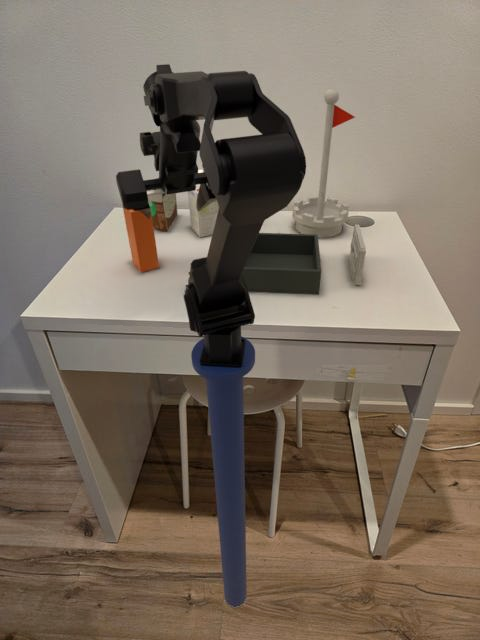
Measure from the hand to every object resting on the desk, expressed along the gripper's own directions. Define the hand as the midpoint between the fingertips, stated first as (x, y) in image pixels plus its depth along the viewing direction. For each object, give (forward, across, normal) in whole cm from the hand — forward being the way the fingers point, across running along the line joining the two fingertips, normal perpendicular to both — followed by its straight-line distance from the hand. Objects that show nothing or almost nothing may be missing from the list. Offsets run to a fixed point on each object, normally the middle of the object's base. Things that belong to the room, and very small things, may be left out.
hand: (173, 213), depth 80 cm
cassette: (+5, -33, +17) cm, 38 cm away
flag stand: (+16, -37, 0) cm, 40 cm away
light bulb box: (+22, -14, -8) cm, 27 cm away
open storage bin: (+8, -19, +12) cm, 24 cm away
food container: (+26, -2, -15) cm, 30 cm away
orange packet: (+15, +6, +1) cm, 16 cm away
